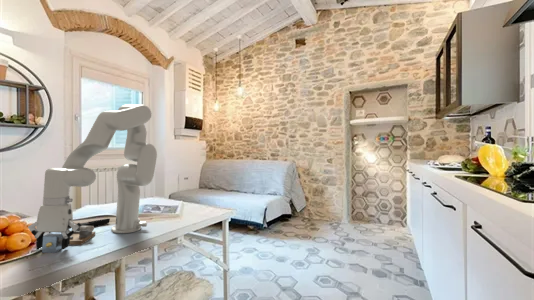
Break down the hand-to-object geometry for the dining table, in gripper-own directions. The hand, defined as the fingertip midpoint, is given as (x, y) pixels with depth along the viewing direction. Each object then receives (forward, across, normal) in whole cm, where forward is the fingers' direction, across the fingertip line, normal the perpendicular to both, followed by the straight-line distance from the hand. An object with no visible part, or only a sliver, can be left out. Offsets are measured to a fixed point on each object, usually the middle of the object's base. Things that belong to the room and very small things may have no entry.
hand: (52, 247), depth 95 cm
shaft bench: (+1, 0, -11) cm, 11 cm away
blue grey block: (+1, 0, 0) cm, 1 cm away
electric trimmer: (+1, 0, -28) cm, 28 cm away
